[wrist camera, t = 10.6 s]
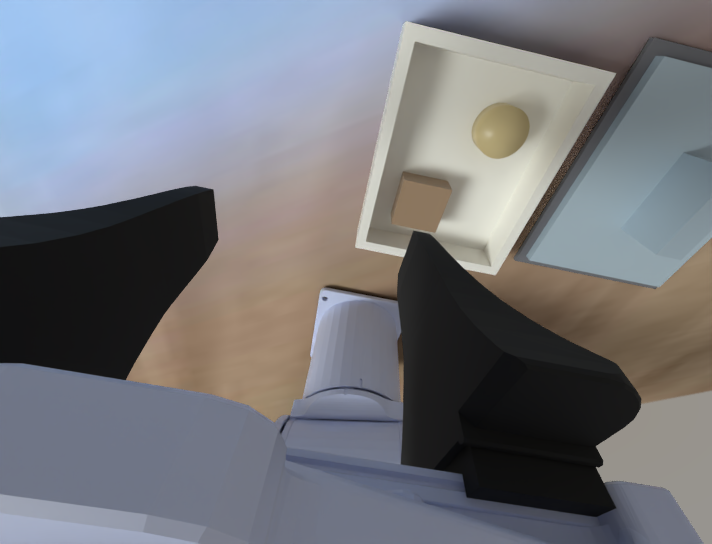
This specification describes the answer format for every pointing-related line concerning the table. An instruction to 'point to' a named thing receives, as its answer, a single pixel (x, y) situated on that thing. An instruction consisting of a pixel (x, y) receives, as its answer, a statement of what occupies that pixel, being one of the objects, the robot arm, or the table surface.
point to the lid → (642, 184)
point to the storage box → (470, 143)
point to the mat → (626, 88)
